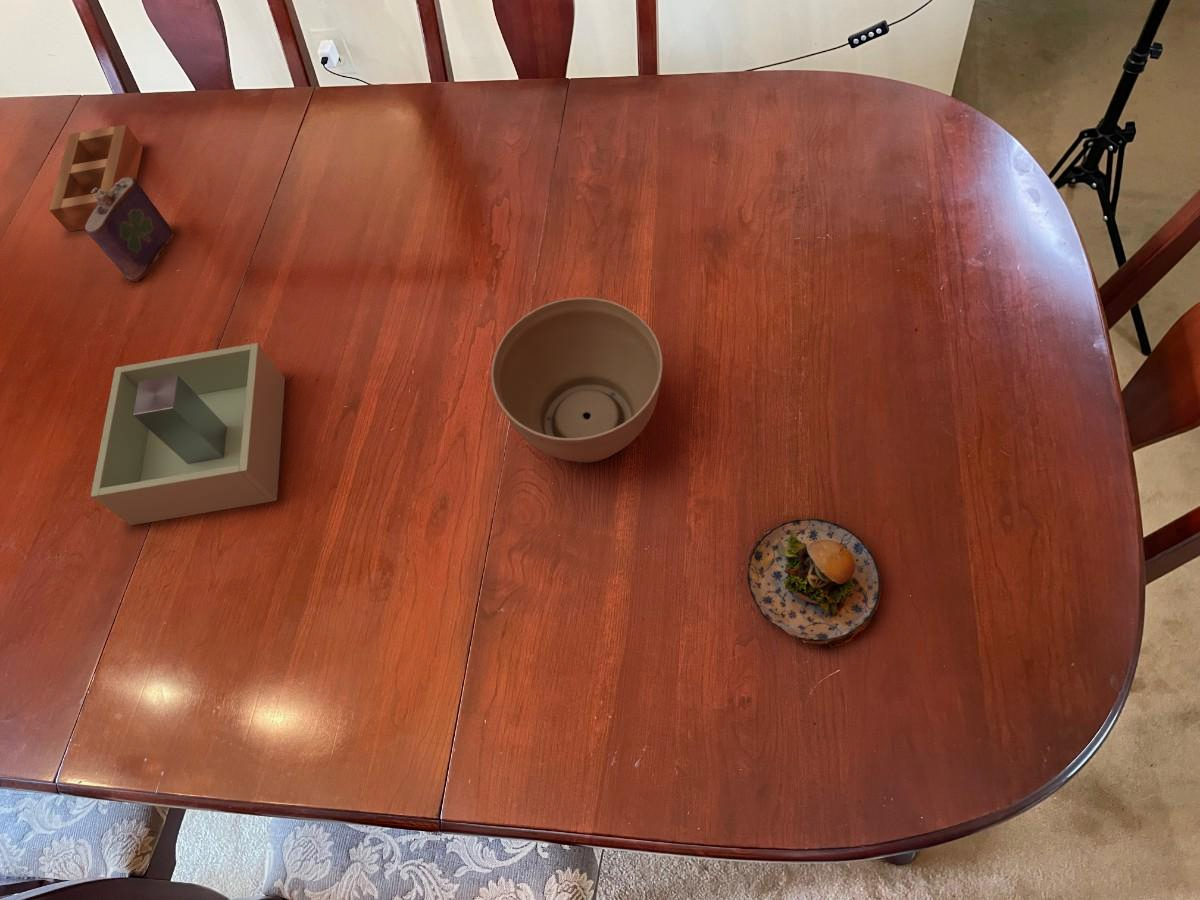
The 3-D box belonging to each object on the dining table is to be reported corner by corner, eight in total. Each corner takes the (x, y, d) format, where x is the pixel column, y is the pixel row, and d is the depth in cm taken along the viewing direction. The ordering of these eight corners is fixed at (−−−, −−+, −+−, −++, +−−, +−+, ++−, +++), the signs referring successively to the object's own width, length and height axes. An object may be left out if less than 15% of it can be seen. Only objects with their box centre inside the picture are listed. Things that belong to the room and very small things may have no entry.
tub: (130, 525, 88) (90, 496, 82) (150, 401, 96) (114, 367, 90) (277, 500, 88) (246, 470, 82) (285, 378, 96) (258, 342, 90)
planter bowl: (550, 520, 83) (530, 468, 74) (490, 399, 91) (466, 338, 82) (694, 451, 85) (693, 392, 76) (624, 339, 93) (615, 273, 84)
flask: (140, 284, 105) (86, 221, 96) (121, 280, 106) (65, 217, 97) (178, 230, 109) (130, 165, 100) (159, 226, 110) (109, 161, 101)
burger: (737, 532, 81) (740, 497, 74) (862, 518, 80) (876, 482, 74) (758, 655, 75) (763, 629, 68) (893, 642, 74) (911, 614, 68)
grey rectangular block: (187, 464, 90) (132, 414, 82) (191, 432, 92) (138, 381, 84) (223, 457, 90) (173, 408, 81) (227, 426, 92) (177, 374, 83)
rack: (68, 232, 111) (48, 209, 108) (87, 157, 119) (69, 134, 115) (128, 221, 111) (109, 199, 108) (143, 147, 118) (126, 123, 115)
